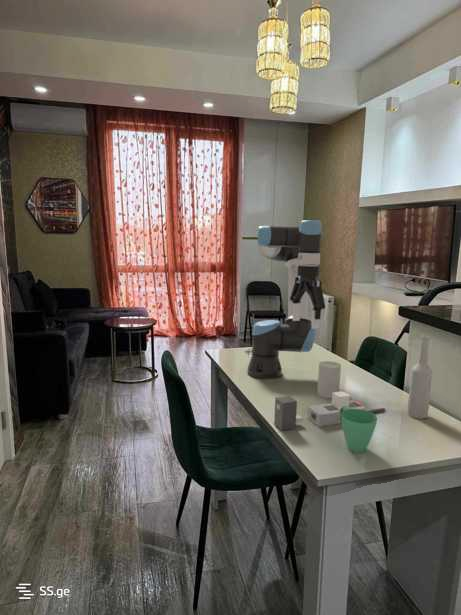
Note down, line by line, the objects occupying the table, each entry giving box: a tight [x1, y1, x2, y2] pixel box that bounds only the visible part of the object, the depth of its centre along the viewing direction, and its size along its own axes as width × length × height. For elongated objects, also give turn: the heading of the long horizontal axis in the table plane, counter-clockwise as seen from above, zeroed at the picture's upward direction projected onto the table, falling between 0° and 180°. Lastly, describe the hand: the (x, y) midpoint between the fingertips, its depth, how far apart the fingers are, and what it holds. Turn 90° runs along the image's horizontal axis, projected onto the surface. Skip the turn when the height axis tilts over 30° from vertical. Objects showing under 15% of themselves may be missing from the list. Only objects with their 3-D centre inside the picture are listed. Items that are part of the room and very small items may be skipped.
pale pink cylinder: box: [316, 360, 342, 399], centre depth 163 cm, size 8×8×12 cm
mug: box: [341, 406, 378, 454], centre depth 124 cm, size 15×10×10 cm
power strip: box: [307, 400, 386, 427], centre depth 143 cm, size 7×29×5 cm, turn 111°
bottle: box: [406, 334, 433, 420], centre depth 144 cm, size 7×7×28 cm
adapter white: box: [331, 390, 350, 410], centre depth 141 cm, size 4×4×4 cm
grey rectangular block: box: [273, 395, 304, 431], centre depth 135 cm, size 5×8×9 cm, turn 111°
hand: (305, 324), depth 153 cm, fingers open, 13 cm apart
